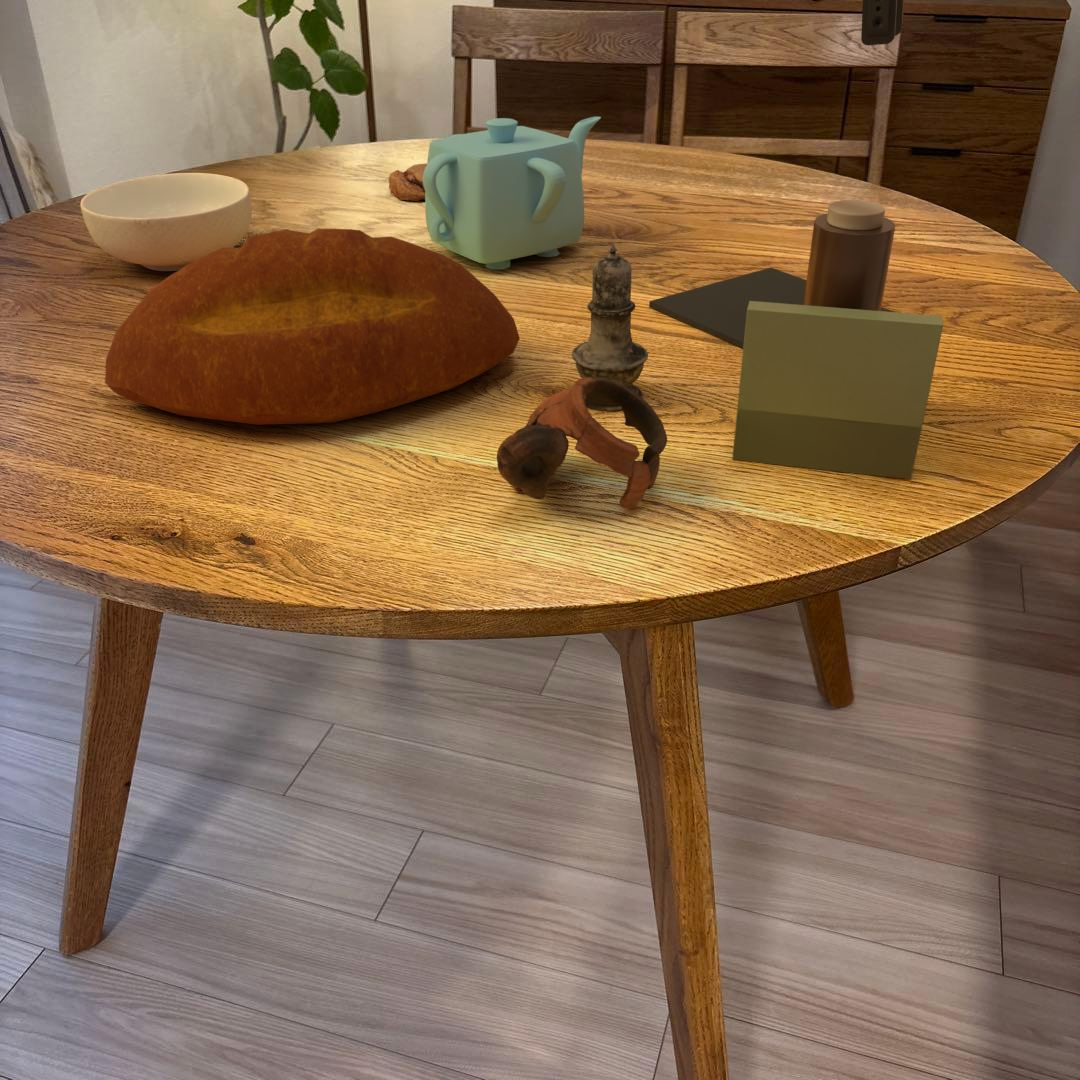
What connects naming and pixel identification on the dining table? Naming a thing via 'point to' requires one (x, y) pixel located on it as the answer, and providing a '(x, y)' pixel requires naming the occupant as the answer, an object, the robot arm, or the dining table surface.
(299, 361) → the bread
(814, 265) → the pepper mill
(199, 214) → the cereal bowl
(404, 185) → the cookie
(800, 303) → the slate mat
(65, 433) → the dining table surface
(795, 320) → the olive piece
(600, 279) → the salt shaker
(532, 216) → the teapot
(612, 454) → the brown leather headphones
